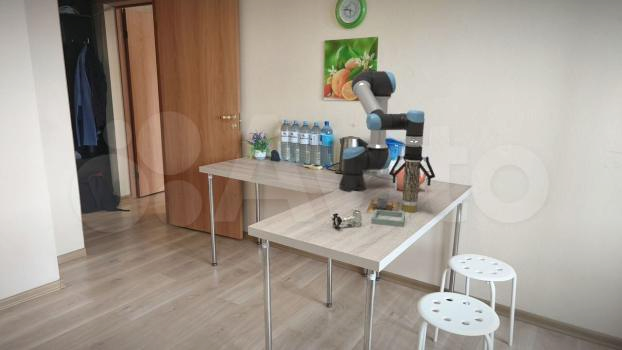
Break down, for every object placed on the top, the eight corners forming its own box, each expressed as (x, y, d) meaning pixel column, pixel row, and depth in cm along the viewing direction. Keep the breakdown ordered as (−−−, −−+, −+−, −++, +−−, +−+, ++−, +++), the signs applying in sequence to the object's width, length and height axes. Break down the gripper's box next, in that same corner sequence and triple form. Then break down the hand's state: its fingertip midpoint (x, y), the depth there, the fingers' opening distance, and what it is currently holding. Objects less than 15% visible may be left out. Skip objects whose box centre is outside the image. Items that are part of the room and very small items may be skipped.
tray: (371, 225, 169) (371, 218, 168) (375, 215, 181) (375, 209, 180) (402, 228, 165) (403, 221, 165) (404, 218, 178) (404, 212, 177)
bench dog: (376, 212, 183) (377, 200, 181) (377, 210, 185) (378, 198, 184) (385, 213, 182) (386, 201, 180) (386, 211, 184) (387, 199, 183)
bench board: (365, 214, 183) (365, 212, 183) (371, 201, 203) (371, 199, 203) (396, 217, 179) (396, 215, 179) (400, 203, 200) (400, 202, 199)
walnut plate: (372, 209, 187) (372, 203, 187) (374, 205, 194) (374, 199, 193) (391, 211, 185) (392, 205, 184) (392, 207, 191) (393, 201, 191)
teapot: (388, 187, 231) (389, 165, 228) (411, 185, 236) (412, 163, 233) (405, 195, 215) (406, 171, 212) (429, 192, 221) (431, 169, 218)
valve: (357, 222, 172) (331, 226, 168) (357, 208, 171) (332, 211, 166) (364, 228, 166) (338, 231, 162) (365, 212, 165) (339, 216, 160)
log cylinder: (417, 210, 189) (421, 158, 183) (415, 215, 183) (419, 161, 177) (402, 209, 191) (405, 157, 186) (400, 213, 185) (404, 160, 179)
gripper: (384, 145, 180) (382, 190, 184) (443, 147, 173) (439, 195, 178) (386, 143, 187) (384, 187, 191) (442, 145, 180) (438, 191, 185)
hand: (410, 191), depth 185 cm, fingers open, 13 cm apart
